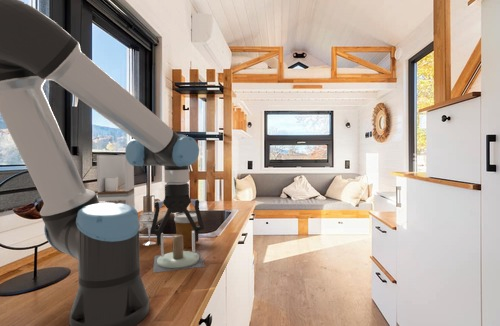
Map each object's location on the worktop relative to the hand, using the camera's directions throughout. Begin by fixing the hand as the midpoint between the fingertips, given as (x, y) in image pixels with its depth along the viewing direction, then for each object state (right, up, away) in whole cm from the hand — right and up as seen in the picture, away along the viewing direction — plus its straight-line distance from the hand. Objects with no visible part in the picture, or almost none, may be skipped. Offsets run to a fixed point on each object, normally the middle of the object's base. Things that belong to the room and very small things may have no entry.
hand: (178, 253), depth 91 cm
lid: (0, -2, 0) cm, 2 cm away
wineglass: (-16, -3, +21) cm, 27 cm away
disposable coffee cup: (-1, -3, +17) cm, 17 cm away
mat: (0, -3, 0) cm, 3 cm away
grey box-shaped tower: (-29, -3, +22) cm, 37 cm away
